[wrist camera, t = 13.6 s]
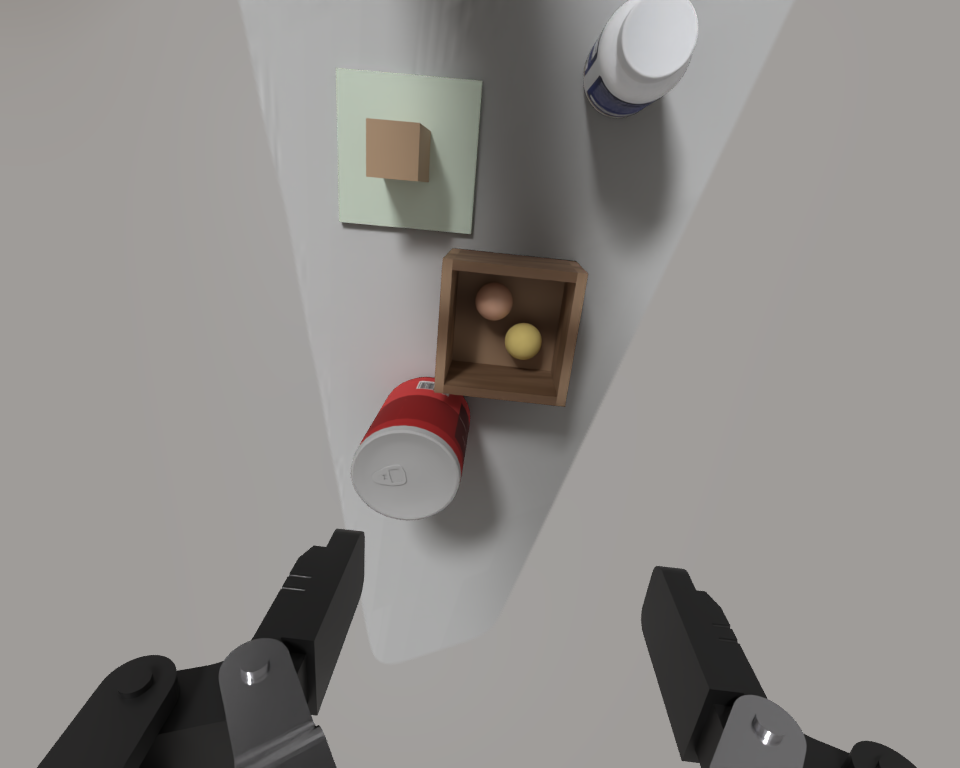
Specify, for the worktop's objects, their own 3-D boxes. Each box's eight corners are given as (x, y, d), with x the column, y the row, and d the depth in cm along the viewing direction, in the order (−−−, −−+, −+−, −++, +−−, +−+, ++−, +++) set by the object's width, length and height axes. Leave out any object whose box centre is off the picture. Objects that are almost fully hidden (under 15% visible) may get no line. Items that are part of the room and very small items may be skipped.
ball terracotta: (478, 277, 40) (475, 284, 37) (514, 281, 40) (515, 288, 37) (474, 313, 41) (472, 322, 38) (510, 317, 41) (510, 326, 38)
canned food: (370, 394, 45) (329, 455, 35) (447, 359, 43) (428, 411, 33) (410, 461, 47) (383, 536, 37) (485, 430, 46) (478, 499, 35)
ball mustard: (507, 317, 41) (506, 326, 38) (542, 320, 41) (545, 330, 38) (503, 351, 42) (502, 362, 39) (538, 355, 42) (539, 366, 39)
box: (452, 248, 40) (442, 258, 34) (575, 261, 40) (588, 274, 34) (444, 364, 43) (434, 392, 37) (557, 376, 43) (564, 406, 37)
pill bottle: (665, 104, 35) (719, 75, 26) (591, 129, 36) (618, 108, 27) (652, 18, 33) (706, -46, 24) (574, 46, 34) (598, -6, 25)
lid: (340, 70, 36) (309, 49, 30) (482, 83, 36) (478, 64, 30) (343, 221, 40) (316, 226, 34) (471, 232, 40) (465, 240, 34)
